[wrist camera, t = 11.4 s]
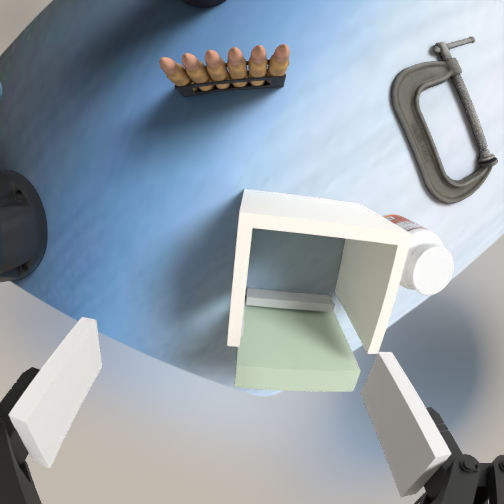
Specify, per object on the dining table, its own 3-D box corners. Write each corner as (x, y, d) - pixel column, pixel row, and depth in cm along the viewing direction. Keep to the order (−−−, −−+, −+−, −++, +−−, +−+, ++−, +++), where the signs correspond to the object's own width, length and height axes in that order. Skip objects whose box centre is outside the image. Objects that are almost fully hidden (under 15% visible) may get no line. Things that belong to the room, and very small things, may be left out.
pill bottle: (401, 267, 37) (445, 307, 27) (358, 257, 37) (395, 298, 26) (417, 220, 35) (468, 247, 25) (374, 206, 35) (419, 231, 24)
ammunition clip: (183, 96, 31) (149, 73, 20) (182, 81, 31) (148, 50, 19) (283, 87, 31) (299, 56, 19) (281, 71, 30) (296, 34, 19)
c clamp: (368, 53, 30) (376, 47, 27) (470, 37, 28) (481, 33, 25) (422, 213, 36) (433, 218, 33) (511, 174, 33) (523, 177, 31)
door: (239, 322, 39) (233, 394, 27) (241, 298, 38) (236, 365, 26) (325, 329, 40) (350, 398, 27) (331, 305, 39) (360, 371, 26)
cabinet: (230, 325, 39) (222, 396, 27) (244, 189, 34) (239, 212, 22) (332, 332, 40) (359, 401, 27) (360, 203, 35) (411, 234, 22)
